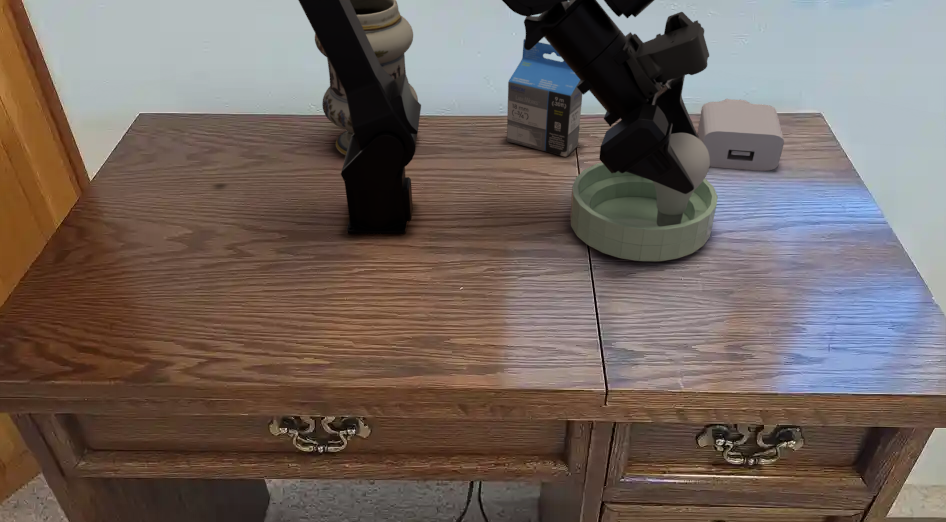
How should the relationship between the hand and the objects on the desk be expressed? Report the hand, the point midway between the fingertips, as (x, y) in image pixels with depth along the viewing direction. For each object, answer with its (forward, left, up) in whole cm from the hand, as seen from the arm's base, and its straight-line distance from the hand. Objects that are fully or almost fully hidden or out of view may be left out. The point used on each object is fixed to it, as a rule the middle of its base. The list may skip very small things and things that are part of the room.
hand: (694, 169), depth 81 cm
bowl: (-4, +2, -8) cm, 9 cm away
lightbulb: (-2, 0, -8) cm, 8 cm away
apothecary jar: (-36, +22, -8) cm, 43 cm away
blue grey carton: (-14, +22, -8) cm, 27 cm away
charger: (+11, +23, -8) cm, 26 cm away
